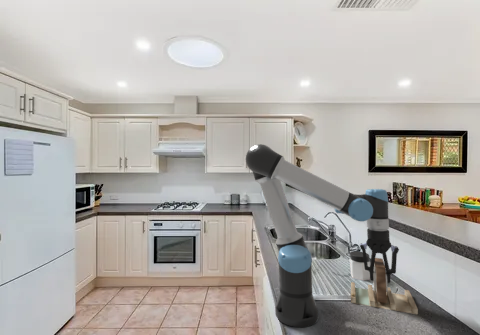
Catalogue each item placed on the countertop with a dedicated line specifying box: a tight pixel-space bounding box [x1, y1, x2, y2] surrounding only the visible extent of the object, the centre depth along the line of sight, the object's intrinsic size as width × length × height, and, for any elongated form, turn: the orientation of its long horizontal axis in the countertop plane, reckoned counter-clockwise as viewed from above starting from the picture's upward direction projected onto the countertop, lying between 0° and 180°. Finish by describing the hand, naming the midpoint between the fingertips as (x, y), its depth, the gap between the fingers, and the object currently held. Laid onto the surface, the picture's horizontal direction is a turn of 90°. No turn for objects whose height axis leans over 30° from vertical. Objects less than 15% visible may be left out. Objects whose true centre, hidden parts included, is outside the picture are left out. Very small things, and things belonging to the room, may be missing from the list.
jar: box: [349, 251, 371, 281], centre depth 117 cm, size 9×8×12 cm
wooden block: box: [374, 257, 387, 303], centre depth 96 cm, size 3×10×13 cm, turn 156°
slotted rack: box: [350, 281, 419, 315], centre depth 96 cm, size 21×14×4 cm, turn 66°
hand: (380, 289), depth 96 cm, fingers closed on wooden block, 3 cm apart
